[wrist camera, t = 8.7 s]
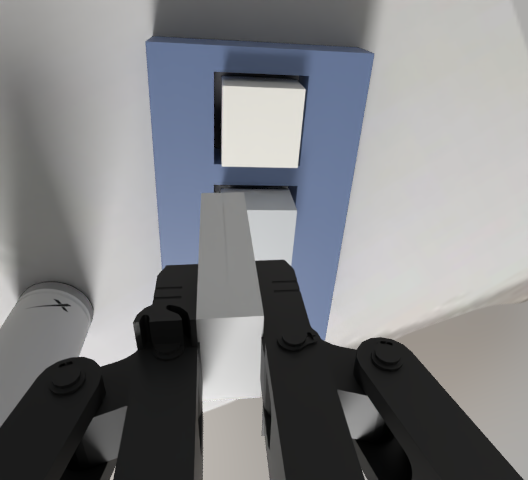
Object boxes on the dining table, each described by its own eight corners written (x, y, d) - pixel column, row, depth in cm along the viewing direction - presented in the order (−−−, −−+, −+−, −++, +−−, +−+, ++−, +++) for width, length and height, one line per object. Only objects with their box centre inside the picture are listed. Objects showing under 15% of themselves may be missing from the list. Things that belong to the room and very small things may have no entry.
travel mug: (65, 267, 36) (-70, 516, 19) (107, 321, 39) (25, 575, 22) (1, 293, 37) (-186, 557, 20) (48, 344, 40) (-76, 608, 23)
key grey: (220, 188, 31) (221, 209, 28) (289, 189, 31) (297, 210, 28) (220, 247, 33) (221, 273, 30) (283, 247, 34) (290, 272, 31)
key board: (152, 36, 28) (145, 41, 25) (358, 47, 30) (374, 53, 27) (171, 318, 40) (167, 344, 37) (316, 315, 42) (324, 340, 39)
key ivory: (221, 75, 28) (222, 85, 25) (296, 79, 29) (305, 89, 26) (220, 149, 31) (221, 166, 28) (289, 151, 31) (297, 168, 28)
